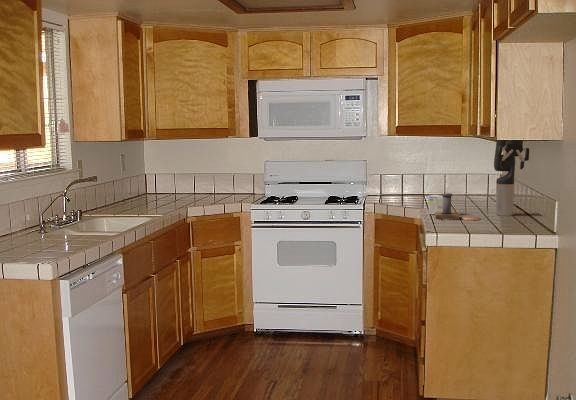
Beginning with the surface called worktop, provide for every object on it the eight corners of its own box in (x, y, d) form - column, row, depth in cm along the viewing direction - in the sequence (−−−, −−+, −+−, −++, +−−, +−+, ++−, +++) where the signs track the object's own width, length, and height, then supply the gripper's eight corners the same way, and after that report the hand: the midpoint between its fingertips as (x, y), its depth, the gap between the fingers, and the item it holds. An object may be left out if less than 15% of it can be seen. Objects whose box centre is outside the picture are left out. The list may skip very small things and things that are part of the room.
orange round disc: (460, 218, 340) (460, 216, 340) (478, 218, 339) (478, 216, 339) (462, 220, 332) (462, 218, 332) (480, 220, 330) (480, 219, 330)
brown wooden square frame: (434, 216, 347) (434, 212, 347) (457, 216, 345) (457, 212, 345) (435, 219, 336) (435, 215, 335) (459, 220, 333) (459, 215, 333)
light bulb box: (450, 214, 357) (450, 195, 355) (446, 215, 351) (447, 196, 350) (431, 213, 362) (432, 194, 361) (428, 214, 356) (428, 195, 355)
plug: (441, 217, 343) (441, 193, 342) (451, 217, 342) (451, 193, 341) (441, 219, 338) (442, 194, 337) (452, 219, 337) (452, 194, 336)
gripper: (528, 135, 305) (525, 168, 308) (498, 133, 307) (494, 167, 310) (532, 136, 298) (529, 170, 301) (501, 135, 299) (498, 169, 302)
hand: (511, 168), depth 305 cm, fingers open, 8 cm apart
